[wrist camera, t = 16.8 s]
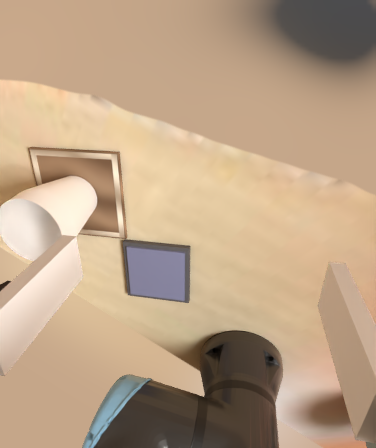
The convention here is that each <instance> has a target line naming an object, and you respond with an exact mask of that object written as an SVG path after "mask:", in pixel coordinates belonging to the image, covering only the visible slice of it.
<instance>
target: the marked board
mask: <svg viewBox="0 0 376 448" xmlns="http://www.w3.org/2000/svg"><path fill="white" fill-rule="evenodd" d="M29 152H30V157H31V161H32V166H33V170H34V175H35V179H36V184H37V186H39V185H42V184H45V183H48V182H52V181H55V180H58V179H61V178H64V177H68V176H77V177H81V178H83V179H84V180H86V181H87V182H88V183H90V184H91V186H92V187H93V188H94V190H95V192H96V195H97V206H96V208H95V210H94V211H93V213H92V214H91V216H90V217H89V219H88V220H87V222H86V223H85V225H84V226H83V227H82V229H81V230H80V232H79V233H78V234H82V235H92V236H102V237H112V238H122V239H126V238H127V230H126V219H125V208H124V196H123V185H122V174H121V163H120V152H111V151H93V150H75V149H57V148H39V147H30V148H29Z"/></svg>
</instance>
